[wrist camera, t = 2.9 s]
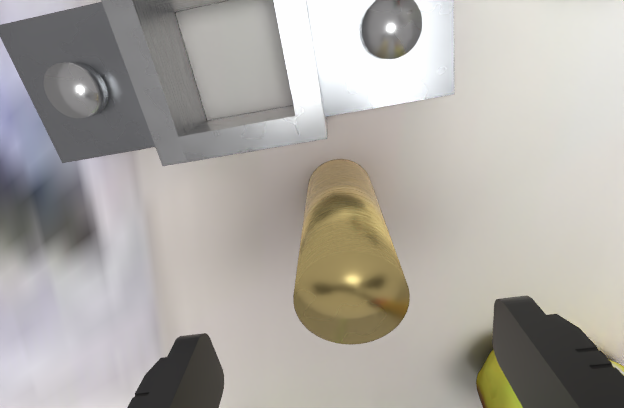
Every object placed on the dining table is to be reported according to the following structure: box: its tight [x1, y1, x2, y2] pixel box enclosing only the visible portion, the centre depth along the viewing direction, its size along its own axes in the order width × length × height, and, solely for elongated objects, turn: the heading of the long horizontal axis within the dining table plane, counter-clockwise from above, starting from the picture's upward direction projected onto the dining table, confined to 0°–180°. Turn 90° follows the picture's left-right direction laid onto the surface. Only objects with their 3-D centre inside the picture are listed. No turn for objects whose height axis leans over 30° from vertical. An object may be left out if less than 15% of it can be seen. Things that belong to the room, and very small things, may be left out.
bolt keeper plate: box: [0, 0, 454, 166], centre depth 16 cm, size 20×8×4 cm, turn 100°
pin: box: [294, 159, 409, 344], centre depth 16 cm, size 4×4×10 cm
